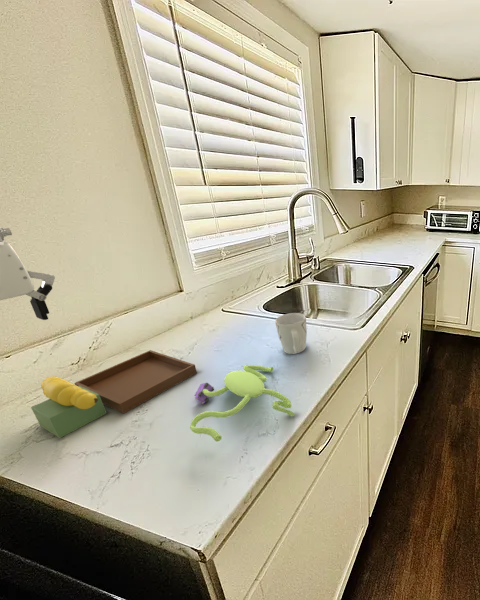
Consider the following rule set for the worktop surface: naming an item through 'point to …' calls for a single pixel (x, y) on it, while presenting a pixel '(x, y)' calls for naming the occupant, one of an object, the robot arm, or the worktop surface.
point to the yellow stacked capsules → (67, 393)
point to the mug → (292, 332)
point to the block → (66, 415)
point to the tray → (137, 379)
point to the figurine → (241, 385)
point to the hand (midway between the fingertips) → (8, 327)
